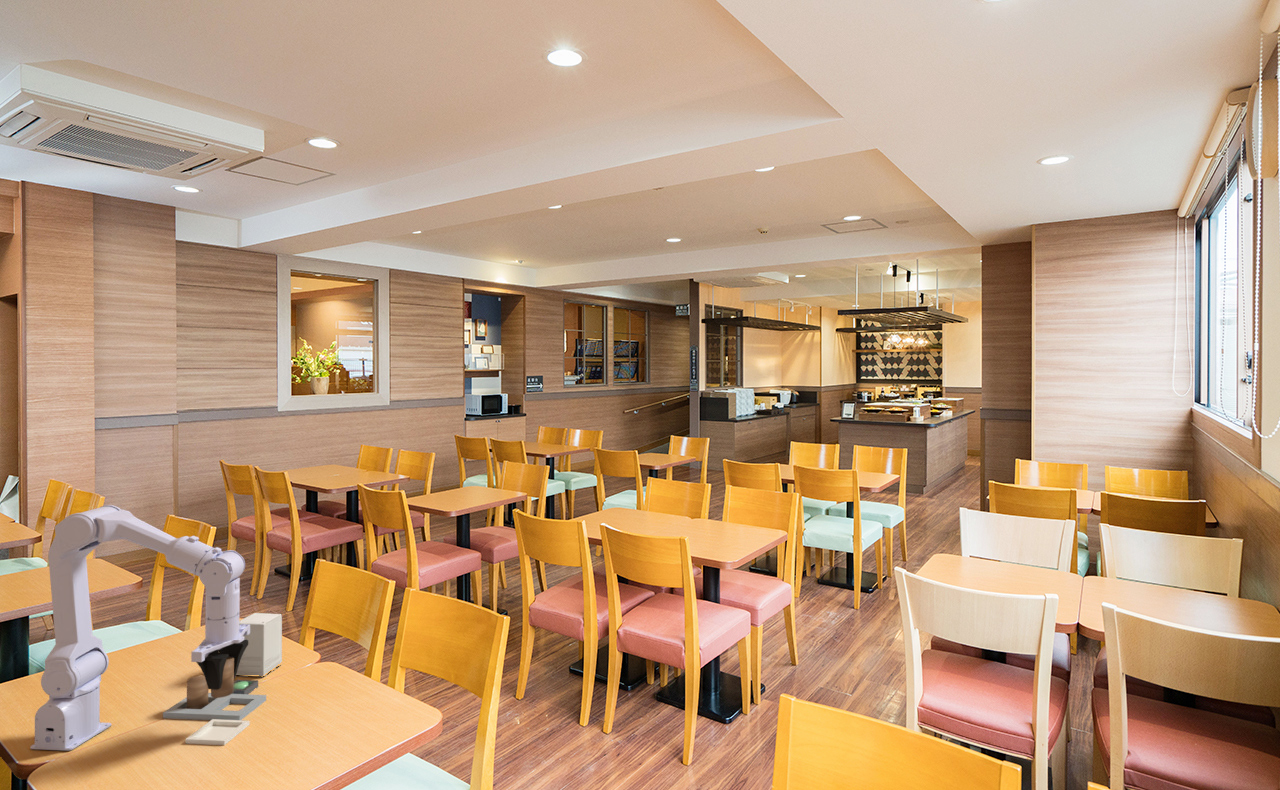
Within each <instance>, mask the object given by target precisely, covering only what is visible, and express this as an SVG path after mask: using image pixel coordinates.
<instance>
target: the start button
mask: <svg viewBox="0 0 1280 790" xmlns="http://www.w3.org/2000/svg"><path fill="white" fill-rule="evenodd" d="M247 686H248V682H246V681H241V682H237V683H235V684H234V689H244V688H245V687H247Z"/></svg>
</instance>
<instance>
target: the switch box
mask: <svg viewBox="0 0 1280 790" xmlns="http://www.w3.org/2000/svg"><path fill="white" fill-rule="evenodd" d="M241 681H246V682H248V686H247V687H245V688H244V689H234V692H233V693H232V694H251V693H252V692H253V691H255V690H256V689H258V688H259V680H254V679H253V680H252V679H236V680H235V679H234V684H235V683H237V682H241ZM255 688H256V689H255ZM254 689H255V690H254Z"/></svg>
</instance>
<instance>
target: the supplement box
mask: <svg viewBox="0 0 1280 790" xmlns="http://www.w3.org/2000/svg"><path fill="white" fill-rule="evenodd" d="M241 624H250V634H248V635H244V640H248V646H247V647H246V649H245V651H244V653H243V655H242V657H241V660H240V663H239V667H238V670H237V674H236V675H259V676H263V675H265V674H266V673H268V672H269V671H270V670H272V669H273V668H275V667H276V666H277V665H278V664H280V663H281V662H282V663H283V617H282V614H281V613H260V612H254V613H252V614H250V615H248V616H246V617H243V618H242V619H239V625H241Z"/></svg>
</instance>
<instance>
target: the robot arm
mask: <svg viewBox="0 0 1280 790" xmlns="http://www.w3.org/2000/svg"><path fill="white" fill-rule="evenodd" d="M54 532H55V534H54V535H55V536H54V538H53V540H52V542H51V545H50V547H49V548H48V554H47V555H48V556H47V557H48V566H49V568H48V569H49V579H50V592H51V603H52V604H51V605H52V616H53V617H52V618H53V628H54V639H55V645H54V646H53V647H52V649H51V651H50V652H49V654H48V655H47V656H46V658H45V660H44V671H43V673H42V675H41V679H40V686H41V688H42V690H43V692H44V693H45V694H46V695H48V700H47V701H46V702H45V703H44V704H43V705H42V706H40V707H39V708H38V709H37V711H36V713H35V715H34V744H32V745H31V746H30V749H31V750H47V751H68V752H69V751H72V750H74V749H77V748H78V747H79V746H80V745H82V744H84V743H86V742H87V741H89V740H91V739H92V738H94V737H96V736H97V735H98V734H100V733H101V732H103V731H105V730H107V729H108V728H110V727H111V726H112V723H111V722H100V719H101V718H100V713H101V712H100V711H101V710H100V709H101V708H100V707H101V705H100V702H101V700H100V695H101V691H100V690H101V689H100V688H101V687H100V685H101V682H102V675H103V674H104V673H105V672H107V670H108V667H109V663H110V661H109V660H110V659H109V656H108V654H107V653H106V651H105V649H104V647H103V641H102V640H101V638H98V637H97V636H95V635H94V634H93V625H92V624H93V623H92V613H91V602H90V601H91V599H90V588H89V575H88V564H87V563H88V561H87V556H88V555H89V554H90V553H92V552H93V551H94V550H95V549H96V548H97V547H98V546H99V545H100V544H101V543H106V542H111V541H117V540H124V541H128V542H131V543H133V544H135V545H139V546H142V547H145V548H146V549H150V550H152V551H156V552H158V553H160V554H164V557H165V560H166V562H167V564H170V565H171V566H174V567H176V568H179V569H181V570H183V571H185V572H188V573H190V574H193V575H195V576H198V577H199V580H200V582H201V583H202V585H203V586H204V587H205V588H204V589H205V618H204V619H205V620H204V621H205V623H204V624H205V625H204V626H205V627H204V628H205V630H204V631H205V632H204V633H205V638H204V639H203V640H202V642H201V643H199V645H198V646H197V647H196V648H195V649H194V650H192V651H191V653H190V655H191V656H190V657H191V661H190V662H192V663H196V664H197V665H198V667H199V668H200V669H201V671H202V675H204V676H205V679H206V682H207V686H208V690H211V689H214V690H218V689H220V688H221V685H222V678H223V670H224V666H225V663H226V660H227V658H228V657H233V658H234V680H235V679H236V677H237V676H236V674H237V670H238V667H239V663H240V660H241V657H242V655H243V653H244V651H245V649H246V647H247V646H248V640H244V635H248V634H250V624H241V625H239V621H240V611H241V610H240V608H241V607H240V602H241V601H240V600H241V593H240V592H241V590H240V584H241V578H240V576H242V574H243V573H244V571H245V568H246V561H245V558H244V557H243V556H242V554H240V553H239V552H237V551H236V550H235V549H234V550H233V549H230V550H229V549H228V550H223V551H222V548H221V547H219V546H218V547H217V546H216V547H214V546H211V545H208V544H207V543H204V542H202V541H199V540H200V538H199V536H195V535H192V536H188V535H185V536H184V535H183V536H181V537H178V538H177V537H175V536H173V535H171V534H168V533H167V532H164V531H162V530H161V529H159V528H157V527H155V526H153V525H151V524H149V523H147V522H146V521H144V520H141V519H140V518H137V517H136V516H135V515H134V514H133V513H132V512H131V511H129V510H126V509H121V508H120V507H118V506H116V505H113V504H106V505H101V506H100V507H98V508H93V509H90V510H86V511H82V512H76V513H72V514H69V515H68V516H65V518H64V519H62V520H61V521H59V522H58V523H57V524H56V525H55V526H54Z"/></svg>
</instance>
